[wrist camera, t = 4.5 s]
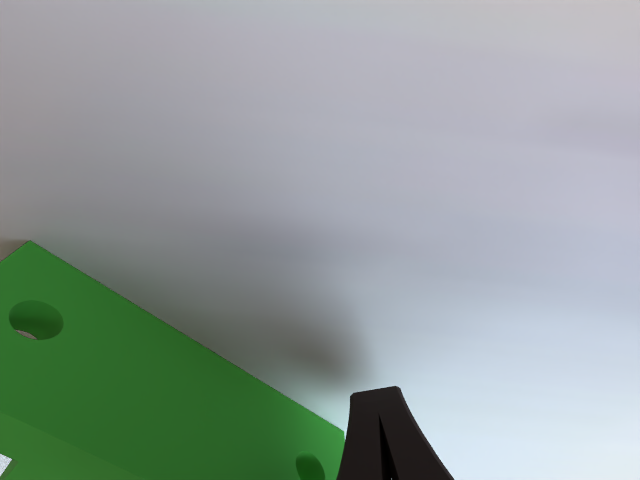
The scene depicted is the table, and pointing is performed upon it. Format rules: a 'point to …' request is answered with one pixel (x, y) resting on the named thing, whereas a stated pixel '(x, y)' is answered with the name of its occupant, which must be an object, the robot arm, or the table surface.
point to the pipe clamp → (134, 392)
